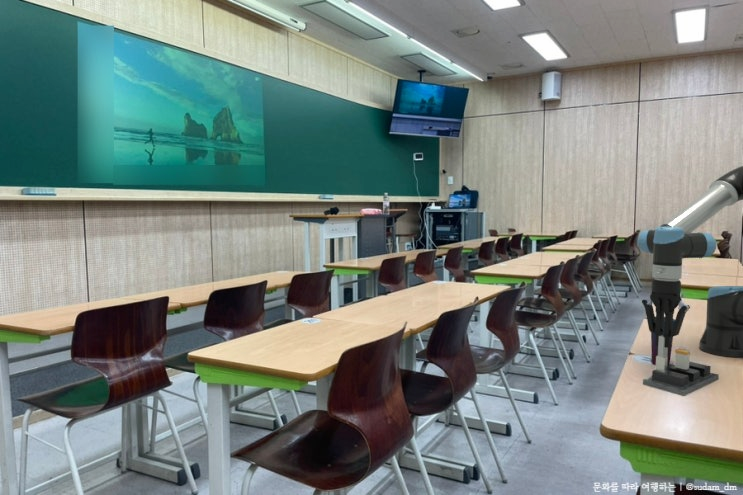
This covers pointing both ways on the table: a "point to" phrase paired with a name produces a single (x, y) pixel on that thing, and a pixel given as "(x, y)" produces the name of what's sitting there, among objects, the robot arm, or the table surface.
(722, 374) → the table surface
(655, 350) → the cup
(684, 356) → the handle
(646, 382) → the panel
